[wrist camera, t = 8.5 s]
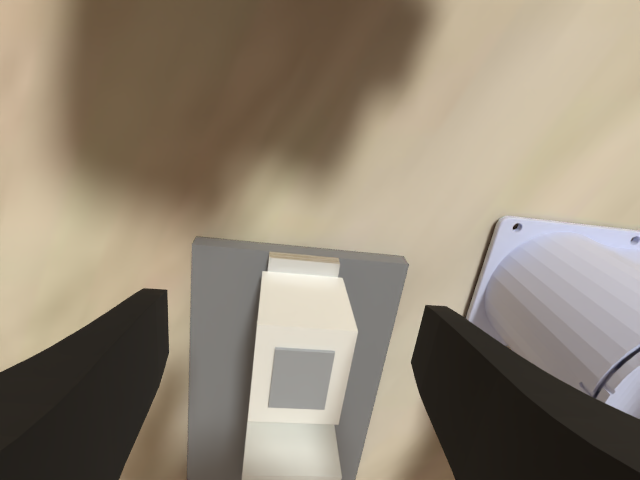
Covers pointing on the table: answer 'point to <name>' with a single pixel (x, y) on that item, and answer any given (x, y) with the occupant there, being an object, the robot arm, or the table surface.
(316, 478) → the block
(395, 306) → the board
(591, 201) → the table surface
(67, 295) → the table surface
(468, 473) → the robot arm
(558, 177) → the table surface
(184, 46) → the table surface
